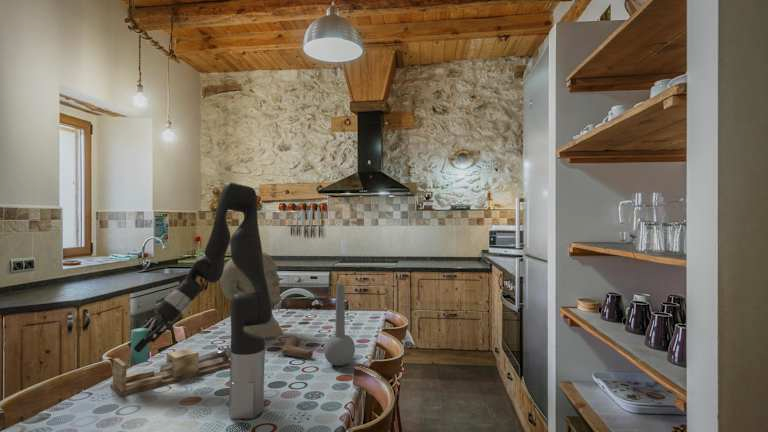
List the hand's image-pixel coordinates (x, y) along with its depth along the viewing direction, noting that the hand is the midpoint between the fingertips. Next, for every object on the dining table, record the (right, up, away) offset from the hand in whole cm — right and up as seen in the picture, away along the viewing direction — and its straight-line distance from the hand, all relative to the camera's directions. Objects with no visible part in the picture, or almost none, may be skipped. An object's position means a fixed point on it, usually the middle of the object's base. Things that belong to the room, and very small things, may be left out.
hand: (133, 348), depth 127 cm
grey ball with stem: (+63, -14, +26) cm, 70 cm away
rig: (+9, -13, +10) cm, 19 cm away
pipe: (+46, -14, +34) cm, 59 cm away
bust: (+16, -14, +64) cm, 67 cm away
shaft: (+13, -12, +15) cm, 23 cm away
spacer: (+1, -4, +1) cm, 5 cm away
